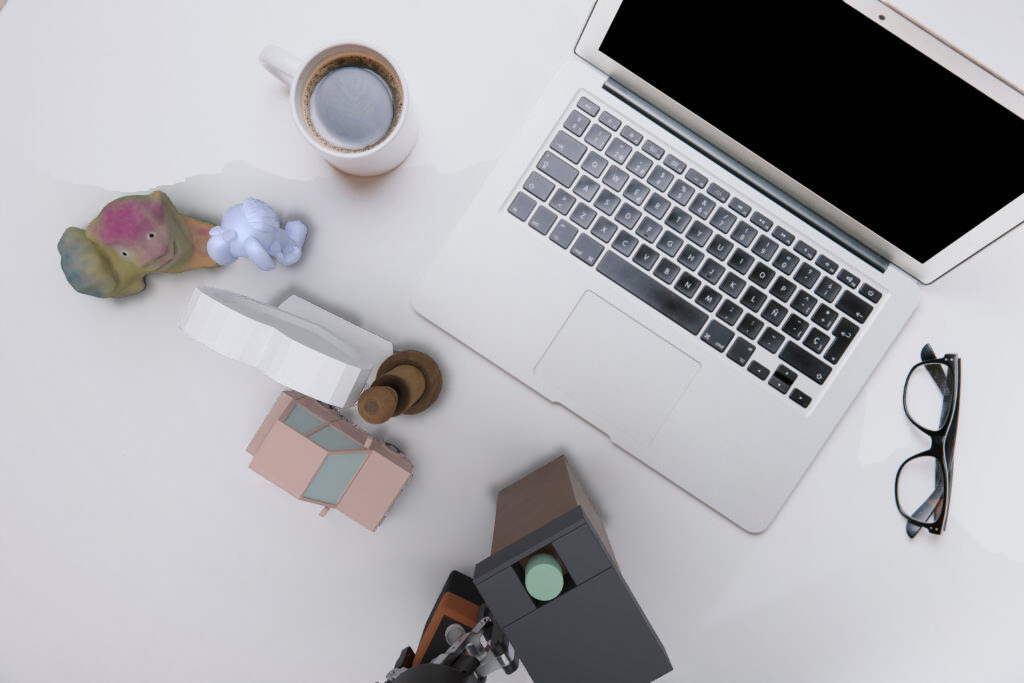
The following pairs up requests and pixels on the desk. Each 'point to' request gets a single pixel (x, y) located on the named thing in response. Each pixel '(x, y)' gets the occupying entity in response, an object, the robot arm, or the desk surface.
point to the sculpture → (133, 246)
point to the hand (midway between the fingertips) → (450, 634)
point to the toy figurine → (256, 236)
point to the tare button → (543, 577)
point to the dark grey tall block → (565, 587)
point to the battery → (449, 618)
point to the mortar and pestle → (401, 387)
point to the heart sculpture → (288, 343)
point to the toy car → (328, 460)
